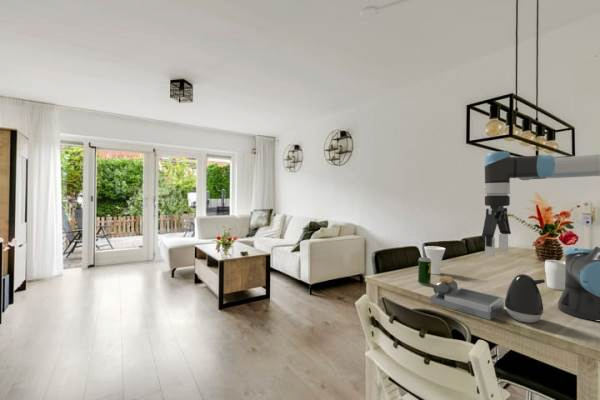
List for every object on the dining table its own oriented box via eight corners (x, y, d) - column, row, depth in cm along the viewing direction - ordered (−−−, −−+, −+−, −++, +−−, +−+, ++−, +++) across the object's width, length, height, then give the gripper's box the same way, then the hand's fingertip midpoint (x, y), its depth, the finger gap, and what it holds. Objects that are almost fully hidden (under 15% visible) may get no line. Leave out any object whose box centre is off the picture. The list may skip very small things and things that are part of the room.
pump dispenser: (544, 329, 89) (546, 280, 89) (503, 320, 96) (505, 274, 95) (542, 318, 98) (543, 273, 97) (505, 310, 104) (506, 268, 104)
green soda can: (417, 284, 134) (417, 258, 134) (418, 281, 138) (419, 256, 138) (430, 286, 131) (430, 260, 131) (431, 283, 136) (431, 257, 136)
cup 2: (542, 283, 137) (542, 258, 137) (567, 287, 132) (568, 261, 132) (546, 289, 129) (547, 262, 129) (573, 292, 125) (574, 265, 124)
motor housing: (503, 309, 105) (504, 284, 105) (490, 320, 96) (490, 293, 96) (447, 294, 121) (447, 272, 121) (430, 302, 111) (430, 279, 111)
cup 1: (449, 275, 150) (450, 249, 150) (430, 276, 148) (431, 249, 148) (437, 270, 160) (437, 245, 160) (419, 270, 159) (420, 246, 159)
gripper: (497, 195, 115) (497, 248, 116) (471, 195, 100) (471, 256, 100) (520, 195, 109) (520, 250, 110) (496, 194, 94) (496, 259, 94)
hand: (496, 253), depth 105 cm, fingers open, 13 cm apart
